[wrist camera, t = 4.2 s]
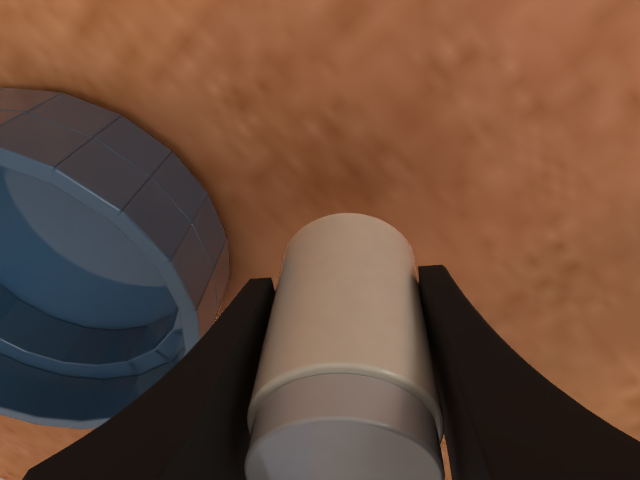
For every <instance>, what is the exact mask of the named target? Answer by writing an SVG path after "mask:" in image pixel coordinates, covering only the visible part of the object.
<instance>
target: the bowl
mask: <svg viewBox="0 0 640 480" xmlns="http://www.w3.org/2000/svg"><path fill="white" fill-rule="evenodd" d="M229 279H230V267H229V250H228V238H227V236H226V233H225V231H224V229H223V226H222V224H221V222H220V220H219V217H218V215H217V213H216V210H215V208H214V206H213V203H212V201H211V199H210V196H209V195H208V192H207V191H206V190H205V189H204V188H203V186H202V185H201V184H200V183H199V182H198V180H197V179H196V178H195V177H194V176H193V174H192V173H191V172H190V171H189V170H188V168H187V167H186V166H185V165H184V164H183V162H182V161H181V160H180V159H179V158H178V156H177V155H176V154H175V153H174V152H172V151H171V149H169V148H168V147H166V146H165V145H163V144H162V143H161V142H159V141H158V140H156V139H155V138H154V137H152V136H151V135H149V134H148V133H147V132H145V131H144V130H142V129H141V128H140V127H138V126H137V125H135V124H134V123H133V122H131V121H130V120H128V119H127V118H126V117H124V116H121V115H120V114H118V113H115V112H113V111H110V110H107V109H105V108H102V107H100V106H97V105H94V104H92V103H89V102H87V101H84V100H81V99H79V98H76V97H74V96H71V95H68V94H66V93H62V92H54V91H42V90H30V89H18V88H0V415H3V416H7V417H10V418H14V419H18V420H21V421H25V422H29V423H32V424H38V425H44V426H54V427H64V428H74V429H95V428H97V427H99V426H100V425H102V424H103V423H105V422H106V421H107V420H109V419H110V418H112V417H113V416H114V415H116V414H117V413H119V412H120V411H121V410H123V409H124V408H125V407H126V406H128V405H129V404H130V403H131V402H133V401H134V400H135V399H136V398H138V397H139V396H140V395H142V394H143V393H144V392H145V391H147V390H148V389H149V388H150V387H152V386H153V385H154V384H155V383H156V382H157V381H159V380H160V379H161V378H162V377H163V376H164V375H165V374H166V373H167V372H168V371H170V370H171V369H172V368H173V367H174V366H175V365H176V364H177V363H178V362H179V361H180V360H181V359H182V358H183V357H184V356H185V355H186V354H187V353H188V352H189V351H190V350H191V349H192V348H193V346H194V345H195V344H196V343H197V342H198V341H199V340H200V339H201V338H202V337H203V336H204V335H205V333H206V332H207V331H208V330H209V329H210V328H211V326H212V325H213V322H214V320H215V317H216V314H217V312H218V309H219V306H220V303H221V301H222V298H223V295H224V292H225V290H226V287H227V284H228V281H229Z"/></svg>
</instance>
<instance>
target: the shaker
mask: <svg viewBox="0 0 640 480" xmlns="http://www.w3.org/2000/svg"><path fill="white" fill-rule="evenodd" d="M247 425H248V429H249V433H250V437H249V441H248V446H247V451H246V455H245V461H244V472H245V477H246V480H445V472H444V465H443V459H442V453H441V447H440V444H441V441H442V438H443V435H444V427H445V425H444V417H443V411H442V405H441V400H440V394H439V389H438V383H437V378H436V372H435V367H434V361H433V355H432V350H431V344H430V339H429V333H428V328H427V323H426V318H425V313H424V309H423V303H422V298H421V292H420V286H419V278H418V272H417V267H416V261H415V257H414V253H413V251H412V248H411V246H410V244H409V243H408V242H407V240H406V239H405V237H404V236H403V235H402V234H401V233H400V232H399V231H398V230H396V229H395V228H394V227H393V226H391V225H389V224H388V223H386V222H384V221H382V220H380V219H378V218H375V217H372V216H369V215H364V214H359V213H337V214H331V215H327V216H324V217H321V218H318V219H316V220H314V221H312V222H310V223H308V224H307V225H305V226H304V227H303V228H301V229H300V230H299V231H298V232H297V233H296V234H295V235H294V236H293V237H292V239H291V240H290V241H289V243H288V245H287V247H286V249H285V252H284V255H283V259H282V263H281V267H280V272H279V276H278V280H277V285H276V289H275V293H274V298H273V302H272V306H271V311H270V315H269V319H268V324H267V328H266V332H265V337H264V341H263V345H262V350H261V354H260V358H259V363H258V367H257V371H256V376H255V380H254V384H253V388H252V393H251V397H250V401H249V406H248V411H247Z"/></svg>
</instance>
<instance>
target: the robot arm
mask: <svg viewBox="0 0 640 480" xmlns="http://www.w3.org/2000/svg"><path fill="white" fill-rule="evenodd" d="M418 271H419V286H420V292H421V298H422V303H423V309H424V313H425V318H426V323H427V328H428V333H429V339H430V344H431V350H432V355H433V361H434V367H435V372H436V378H437V383H438V389H439V394H440V400H441V405H442V411H443V417H444V425H445V427H444V435H445V440H446V445H447V450H448V456H449V462H450V469H451V475H452V480H640V442H639V441H638V440H636V439H634V438H632V437H631V436H629V435H627V434H625V433H624V432H622V431H620V430H619V429H617V428H615V427H614V426H612V425H610V424H609V423H607V422H606V421H604V420H603V419H601V418H600V417H598V416H597V415H595V414H594V413H592V412H591V411H589V410H588V409H586V408H585V407H583V406H582V405H581V404H579V403H578V402H577V401H575V400H574V399H572V398H571V397H570V396H568V395H567V394H566V393H564V392H563V391H562V390H560V389H559V388H557V387H556V386H555V385H553V384H552V383H551V382H550V381H548V380H547V379H546V378H545V377H544V376H542V375H541V374H540V373H539V372H538V371H536V370H535V369H534V368H533V367H532V366H531V365H529V364H528V363H527V362H526V361H525V360H524V359H523V358H522V357H520V356H519V355H518V354H517V353H516V352H515V351H514V350H513V349H512V348H511V347H510V346H509V345H508V344H507V343H506V342H505V341H504V340H503V339H502V338H501V337H500V336H499V335H498V334H497V333H496V332H495V331H494V330H493V329H492V327H491V326H490V325H489V324H488V323H487V322H486V321H485V320H484V319H483V317H482V316H481V315H480V314H479V313H478V311H477V310H476V309H475V308H474V307H473V305H472V304H471V303H470V302H469V300H468V299H467V298H466V297H465V295H464V294H463V293H462V291H461V290H460V289H459V287H458V286H457V284H456V283H455V281H454V280H453V279H452V277H451V275H450V274H449V272H448V271H447V269H446V268H445V267H444V266H443V265H432V266H418ZM274 293H275V291H274V287H273V283H272V279H271V278H258V279H250V280H249V281H248V282H247V283H246V285H245V286H244V287H243V288H242V289H241V291H240V292H239V293H238V294H237V296H236V297H235V298H234V299H233V301H232V302H231V303H230V304H229V306H228V307H227V308H226V309H225V311H224V312H223V313H222V314H221V316H220V317H219V318H218V319H217V320H216V322H215V323H214V324H213V325H212V326H211V328H210V329H209V330H208V331H207V332H206V333H205V335H204V336H203V337H202V338H201V339H200V340H199V341H198V342H197V343H196V344H195V345H194V346H193V348H192V349H191V350H190V351H189V352H188V353H187V354H186V355H185V356H184V357H183V358H182V359H181V360H180V361H179V362H178V363H177V364H176V365H175V366H174V367H173V368H172V369H171V370H170V371H168V372H167V373H166V374H165V375H164V376H163V377H162V378H161V379H160V380H159V381H157V382H156V383H155V384H154V385H153V386H152V387H150V388H149V389H148V390H147V391H145V392H144V393H143V394H142V395H140V396H139V397H138V398H136V399H135V400H134V401H133V402H131V403H130V404H129V405H128V406H126V407H125V408H124V409H123V410H121V411H120V412H119V413H117V414H116V415H114V416H113V417H112V418H110V419H109V420H107V421H106V422H105V423H103V424H102V425H100V426H99V427H97V428H96V429H94V430H93V431H91V432H90V433H88V434H87V435H85V436H84V437H82V438H81V439H79V440H78V441H76V442H75V443H73V444H71V445H70V446H68V447H66V448H65V449H63V450H61V451H60V452H58V453H56V454H55V455H53V456H51V457H50V458H48V459H46V460H45V461H43V462H41V463H40V464H38V465H36V466H34V467H33V468H31V469H29V470H28V472H27V473H26V475H25V476H24V478H23V479H22V480H246V477H245V472H244V461H245V455H246V451H247V446H248V441H249V437H250V433H249V429H248V425H247V411H248V406H249V401H250V397H251V393H252V388H253V384H254V380H255V376H256V371H257V367H258V363H259V358H260V354H261V350H262V345H263V341H264V337H265V332H266V328H267V324H268V319H269V315H270V311H271V306H272V302H273V298H274Z"/></svg>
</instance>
